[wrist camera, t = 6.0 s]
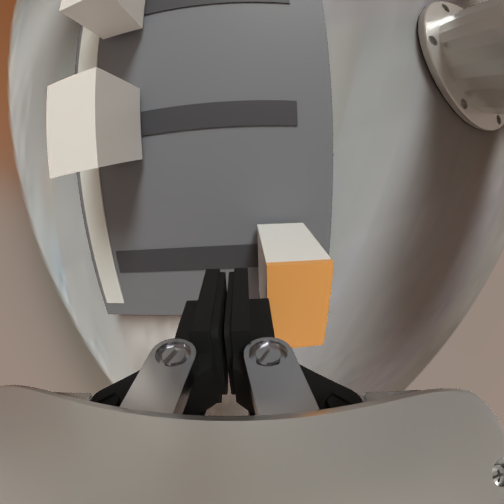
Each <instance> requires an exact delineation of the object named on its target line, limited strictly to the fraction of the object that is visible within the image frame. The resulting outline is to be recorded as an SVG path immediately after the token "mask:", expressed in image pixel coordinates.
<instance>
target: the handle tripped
mask: <svg viewBox="0 0 504 504" xmlns="http://www.w3.org/2000/svg"><path fill="white" fill-rule="evenodd" d="M257 234H258V272H259V294H260V298H269V303H270V309H271V316H272V322H273V328H274V334H275V338H278V339H281V340H284V341H285V342H286V343H288V344H289V345H290V347H291V348H297V347H307V346H315V345H323V344H324V337H325V331H326V324H327V317H328V310H329V302H330V294H331V286H332V277H333V267H334V262H333V260H332V259H331V258H330V257H329V255H328V254H327V253H326V251H325V250H324V249H323V247H322V246H321V245H320V244H319V242H318V241H317V240H316V239H315V237H314V236H313V235H312V233H311V232H310V231H309V230H308V228H307V227H306V226H305V225H304V223H281V224H257Z"/></svg>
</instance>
